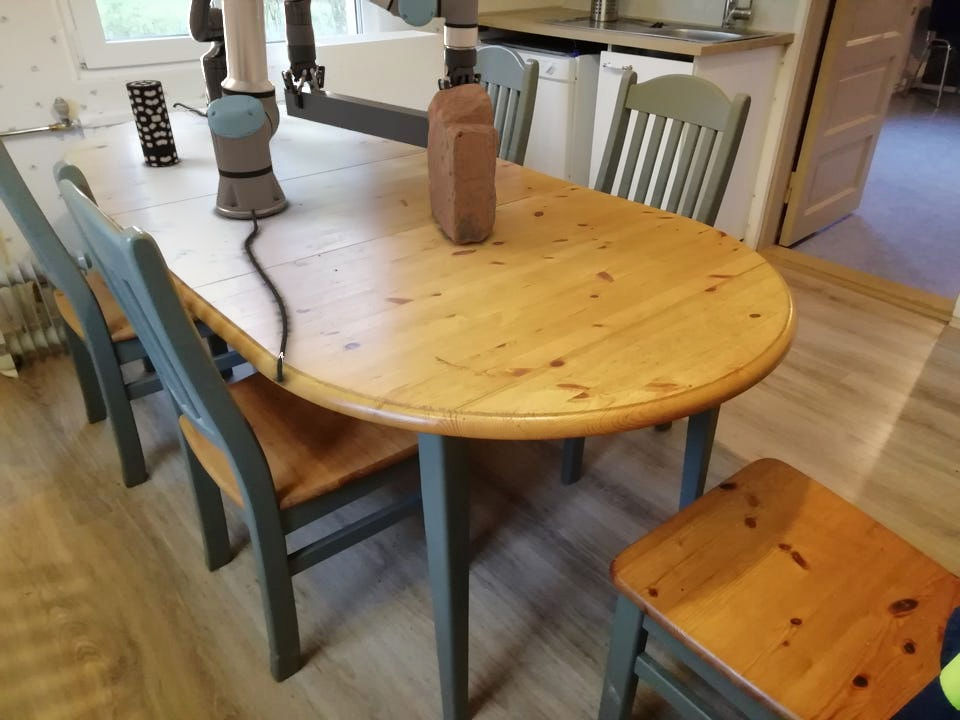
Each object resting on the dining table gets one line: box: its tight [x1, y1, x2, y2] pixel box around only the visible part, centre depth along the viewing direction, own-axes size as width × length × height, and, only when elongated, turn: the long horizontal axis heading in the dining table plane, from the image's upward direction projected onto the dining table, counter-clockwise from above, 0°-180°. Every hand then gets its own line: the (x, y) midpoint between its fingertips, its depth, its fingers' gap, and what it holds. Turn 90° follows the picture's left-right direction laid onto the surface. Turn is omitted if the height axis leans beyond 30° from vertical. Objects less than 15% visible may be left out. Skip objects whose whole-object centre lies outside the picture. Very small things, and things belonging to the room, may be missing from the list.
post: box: [283, 86, 429, 149], centre depth 182 cm, size 68×5×8 cm, turn 53°
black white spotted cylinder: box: [125, 79, 179, 167], centre depth 181 cm, size 8×8×20 cm
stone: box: [426, 84, 500, 245], centre depth 142 cm, size 22×11×28 cm, turn 18°
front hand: (459, 149), depth 169 cm, fingers closed on post, 5 cm apart
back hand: (307, 106), depth 196 cm, fingers closed on post, 5 cm apart
